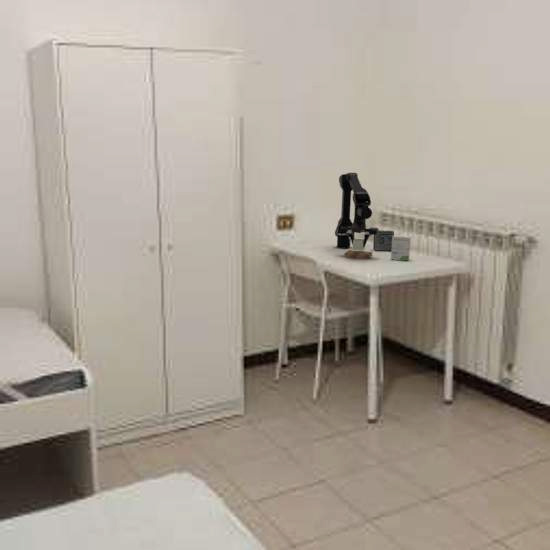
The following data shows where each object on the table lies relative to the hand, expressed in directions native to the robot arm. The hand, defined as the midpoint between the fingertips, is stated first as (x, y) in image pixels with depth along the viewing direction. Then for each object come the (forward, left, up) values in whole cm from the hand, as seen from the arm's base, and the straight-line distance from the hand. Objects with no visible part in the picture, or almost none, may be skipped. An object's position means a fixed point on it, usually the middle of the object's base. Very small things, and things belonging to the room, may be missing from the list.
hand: (358, 247), depth 358 cm
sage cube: (0, 0, -1) cm, 1 cm away
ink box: (+21, +1, -5) cm, 22 cm away
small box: (+8, +24, -5) cm, 26 cm away
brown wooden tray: (0, 0, -5) cm, 5 cm away
